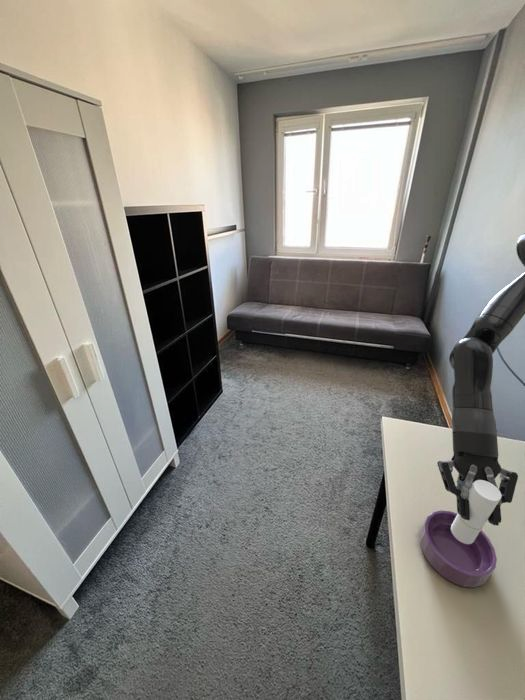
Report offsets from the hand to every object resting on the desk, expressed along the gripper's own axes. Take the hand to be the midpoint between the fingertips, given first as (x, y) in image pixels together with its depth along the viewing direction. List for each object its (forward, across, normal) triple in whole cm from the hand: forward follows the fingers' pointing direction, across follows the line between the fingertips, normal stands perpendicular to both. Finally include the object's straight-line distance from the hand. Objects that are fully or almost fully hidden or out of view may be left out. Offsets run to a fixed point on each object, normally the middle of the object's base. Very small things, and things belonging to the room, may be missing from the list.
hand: (478, 521), depth 54 cm
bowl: (+10, 0, -13) cm, 16 cm away
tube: (+4, 0, -7) cm, 8 cm away
